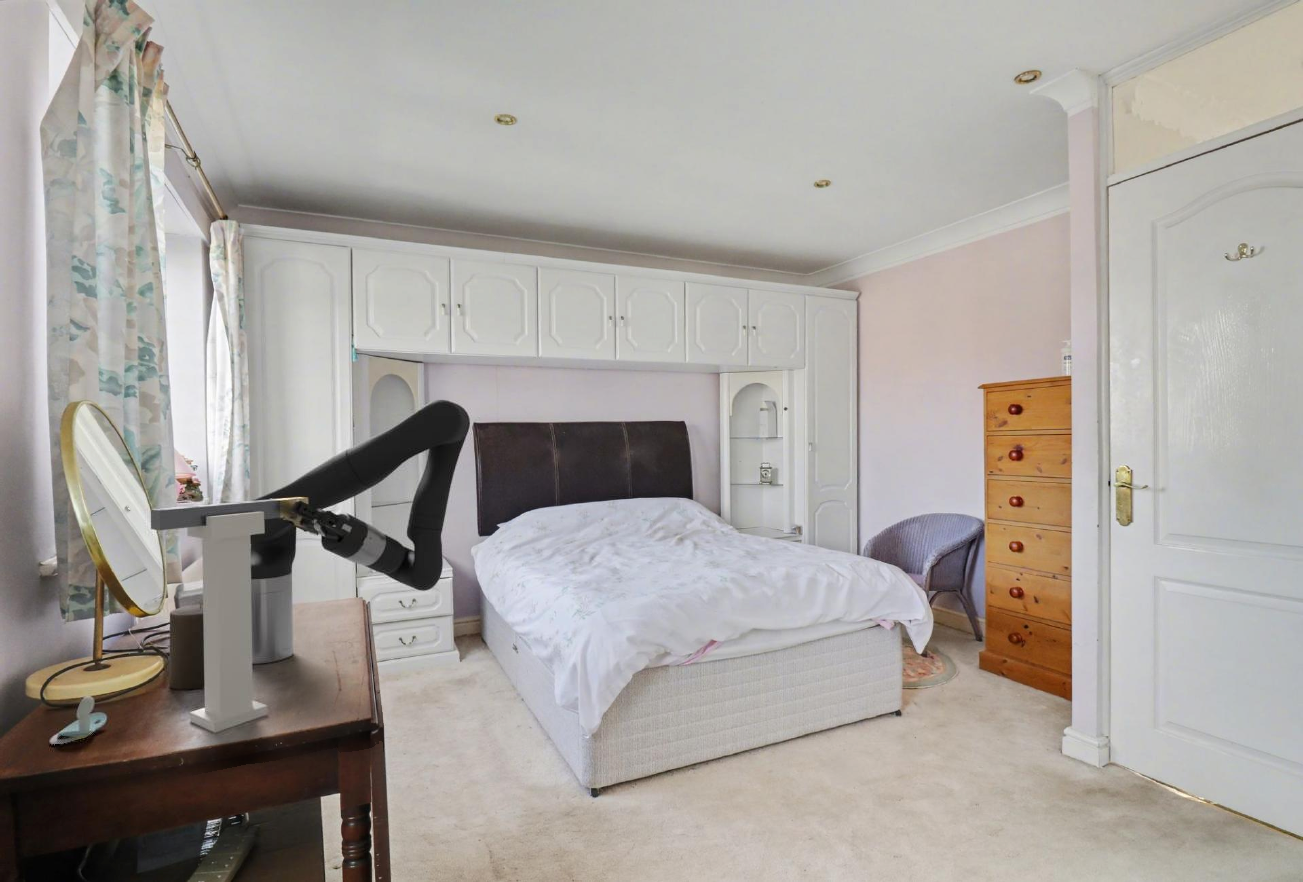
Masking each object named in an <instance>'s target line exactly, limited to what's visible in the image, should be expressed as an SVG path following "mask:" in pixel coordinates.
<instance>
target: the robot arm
mask: <svg viewBox="0 0 1303 882" xmlns="http://www.w3.org/2000/svg"><path fill="white" fill-rule="evenodd" d="M470 426H471V419H470V416H469V414H468V412H467V411H466V410H465V408H464V407H463V406H462V405H460V404H458V403H456V402H453V401H450V400H446V399H436V400H433V401H431V402H429V403H427V404H425V405H423V406H422V407H420V408H419V409H418V410H416V411H414V412H413V413H411V415H409V416H408V417H406V418H405V419H403V420H402V421H400V422H399V423H397V424H396V425H395V426H392V427H391V428H389V429H387V430H385V431H382V432H380V433H377V434H376V435H373V436H371V437H369V438H367V439H365V440H363V441H361V442H359V443H357V444H356V445H353V446H351V447H350V448H347V449H345V450H344V451H342V452H340V453H338V454H336V455H335V456H333V457H331V458H329V459H328V460H325V461H324V462H322V463H321V464H320V465H317V466H316V467H314V468H313V469H311V470H310V471H307V472H306V473H304V474H303V475H302V476H301V477H298V478H297V479H295V480H294V481H292V482H290V483H288V484H287V485H285V486H283V487H281V488H277V489H276V490H274V491H272V492H269V493H267V494H265V495H262V496H260V497H257V498H254V499H252V500H250V501H258V500H270V499H282V498H294V497H304V498H308V504H306V503H304V502H302V501H296V502H295V503H294V505H293V507H292V509H291V511H292V512H293V513H295V514H297V515H299V516H291V517H281V518H272V519H264V531H265V533H262V534H254V535H250V545H251V613H252V665H254V664H255V665H256V664H258V665H259V664H267V663H273V662H277V661H281V660H284V659H288V658H290V657H291V656H292V655H293V654H294V624H293V623H294V622H293V621H294V620H293V619H294V617H293V615H294V614H293V612H294V611H293V608H294V607H293V573H292V572H293V563H294V560H295V557H296V552H297V528H298V529H299V530H302V531H303V532H305V533H306V532H308V533H309V534H311V535H314V536H319V535H320V536H321V539H320V540H321V541H320V542H321V543H320V544H321V547H322V548H323V549H324V550H325V551H328V552H330V553H332V554H335V555H337V556H339V557H340V558H343V559H345V560H347V561H350V562H352V563H354V564H358V565H362V566H364V567H366V568H369V569H371V570H372V571H375V572H378V573H381V574H384V575H385V576H387V577H389V578H391V579H393V580H394V581H396V582H399V583H400V584H402V585H405V586H408V587H410V588H413V589H415V590H418V591H422V592H425V591H429V590H431V589H432V588H434V587H435V586H436V585H437V584H438V582H439V580H440V578H441V576H442V574H443V573H442V572H443V565H444V564H443V563H444V562H443V561H444V560H443V543H442V542H443V541H442V532H443V529H444V528H443V527H444V523H445V517H446V513H447V509H448V508H447V507H448V501H449V496H450V492H451V487H452V483H453V479H454V474H455V470H456V468H457V463H458V461H459V457H460V454H461V452H462V449H463V446H464V443H465V441H466V438H467V436H468V433H469V431H470ZM425 451H428V453H427V454H428V455H427V460H426V463H425V468H424V471H423V474H422V476H421V479H420V481H419V483H418V485H417V488H416V490H415V494H414V496H413V500H412V504H411V507H410V512H409V518H408V522H407V528H406V537H407V538H408V539H409V540H410V541H411V543H412V544H413V547H414V549H411V548H409V547H406V546H404V545H403V544H402V543H401V542H399V541H398V540H397V539H395V538H393V537H391V536H389V535H387V534H385V533H383V532H381V530H379V529H378V528H376V527H374V526H373V525H371V524H368V523H367V522H365V521H364V520H361V519H359V518H357V517H355V516H354V515H351V514H349V513H346V512H342V513H339V514H336V513H334V512H333V511H331V510H324V509H327V508H330V507H332V506H336V505H338V504H341V503H343V502H345V501H348V500H349V499H353V498H354V497H356V496H358V495H361V494H362V493H363V492H365V491H368V490H369V489H371V488H373V487H374V486H376V485H378V484H380V483H381V482H382V481H383V480H385V479H386V478H387V477H389V476H390V475H392V474H393V473H394V471H396V470H397V469H398V468H399V467H400V466H401V465H403V464H404V463H405V462H407V461H408V460H409V459H411V458H413V457H415V456H417V455H419V454H421V453H423V452H425Z"/></svg>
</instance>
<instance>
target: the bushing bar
mask: <svg viewBox="0 0 1303 882" xmlns="http://www.w3.org/2000/svg"><path fill="white" fill-rule="evenodd" d="M296 501H302V502H304V503H306V504H308V498H304V497H294V498H282V499H270V500H258V501H251V500H247V501H235V502H224V503H214V504H213V503H212V504H201V505H188V506H187V505H186V506H177V507H176V506H175V507H166V508H165V507H161V508H153V509H152V508H151V509H150V530H154V531H155V530H156V531H165V530H177V529H187V527H197V526H206V516H216V515H227V514H237V513H248V512H258V511H260V512H264V519H272V518H281V517H291V516H299V515H297V514H295V513H293V512H292V511H291V509H292V507H293V505H294V503H295V502H296Z"/></svg>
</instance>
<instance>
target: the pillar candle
mask: <svg viewBox="0 0 1303 882" xmlns="http://www.w3.org/2000/svg"><path fill="white" fill-rule="evenodd" d="M198 603H199V604H193V605H186V606H182V607H178V608H175V609H173V610H171V611H169V671H168V673H169V678H168V679H169V680H168V684H169V687H170V688H171V689H173V690H179V691H180V690H181V691H183V690H187V691H188V690H196V689H197V690H198V689H205V688H204V622H203V604H201V602H200V601H199V602H198Z"/></svg>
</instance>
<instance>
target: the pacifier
mask: <svg viewBox="0 0 1303 882" xmlns="http://www.w3.org/2000/svg"><path fill="white" fill-rule="evenodd" d="M94 706H95V699H94V698H93V696H91V695H85V696H84V697H83V698H82V700H81V701H80V703H79V705H78V707H77V710H76V718H77V719H76V720H75V721H74V722H72V723H70V724H68V726H66V727H65V728H63V729H62V730H61V731H59V732H58V733H56V734H54V735H53V736H52V737H51V738H50V739H49V744H51V745H53V744H54V745H55V744H60V745H65V744H69V743H72V742H75V741H74V740H76V739H77V740H78V739H81V738H85V737H87V736H88V735H91V734H92V733H93V732H94V733H95V732H96V731H97V730H99V729H100V728H102V727H103V726H104V725H105V724H106V723H107V719H108V716H107V714H105V713H104V712H102V711H98V712H93V713H92V711H93V710H94ZM94 733H93V734H94ZM93 734H92V735H93ZM61 735H62V737H63V736H64V737H68V738H63V739H60V738H61V737H60V736H61ZM92 735H91V736H92ZM59 737H60V738H59ZM58 738H59V739H58ZM71 741H72V742H71ZM68 742H69V743H68ZM64 743H65V744H64ZM55 746H56V745H55Z"/></svg>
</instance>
